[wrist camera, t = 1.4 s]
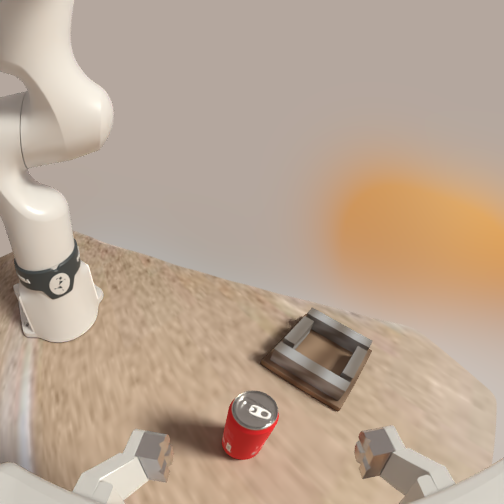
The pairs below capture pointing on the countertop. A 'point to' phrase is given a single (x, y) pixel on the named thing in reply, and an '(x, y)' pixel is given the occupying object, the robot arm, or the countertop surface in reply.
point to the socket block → (320, 358)
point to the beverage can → (249, 424)
